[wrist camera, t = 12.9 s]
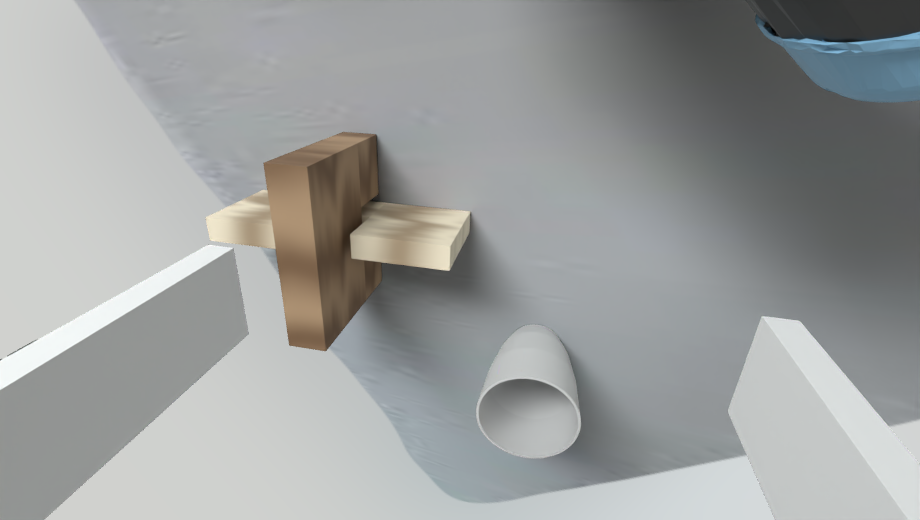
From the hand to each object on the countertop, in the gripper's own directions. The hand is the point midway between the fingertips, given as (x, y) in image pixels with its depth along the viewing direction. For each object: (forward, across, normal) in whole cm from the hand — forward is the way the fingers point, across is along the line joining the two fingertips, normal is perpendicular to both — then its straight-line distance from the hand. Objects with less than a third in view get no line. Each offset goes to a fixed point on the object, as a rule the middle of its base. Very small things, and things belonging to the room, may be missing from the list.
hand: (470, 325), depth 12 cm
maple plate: (+29, -15, -8) cm, 33 cm away
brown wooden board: (+29, -15, -8) cm, 33 cm away
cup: (+29, +2, -20) cm, 35 cm away
